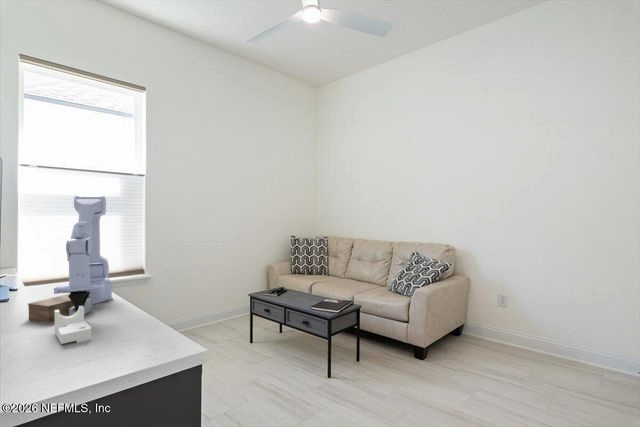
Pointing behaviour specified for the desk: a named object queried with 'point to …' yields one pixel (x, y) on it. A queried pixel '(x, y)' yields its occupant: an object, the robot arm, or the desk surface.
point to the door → (86, 307)
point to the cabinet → (50, 308)
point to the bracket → (72, 327)
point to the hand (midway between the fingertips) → (79, 313)
